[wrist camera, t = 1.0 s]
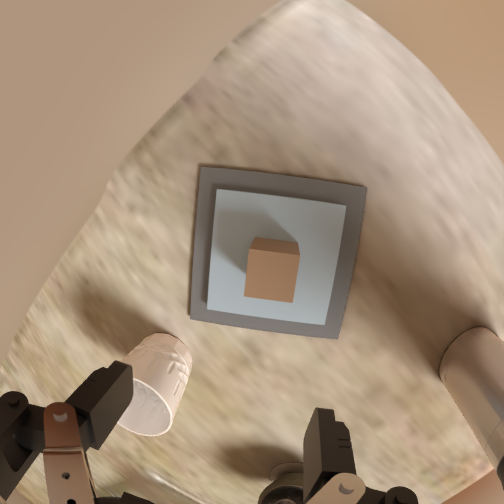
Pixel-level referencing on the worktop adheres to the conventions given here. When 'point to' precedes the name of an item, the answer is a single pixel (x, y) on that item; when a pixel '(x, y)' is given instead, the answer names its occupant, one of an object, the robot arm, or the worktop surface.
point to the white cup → (156, 383)
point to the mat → (285, 187)
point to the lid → (274, 256)
